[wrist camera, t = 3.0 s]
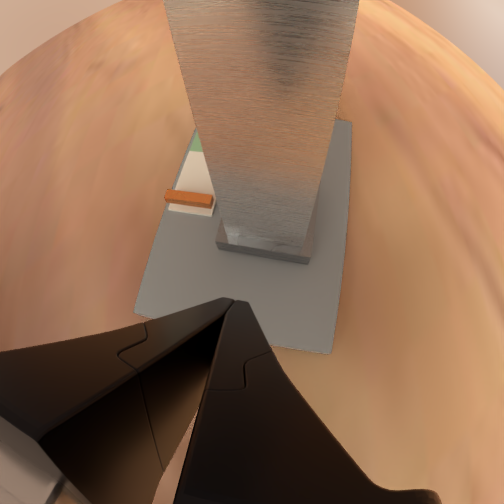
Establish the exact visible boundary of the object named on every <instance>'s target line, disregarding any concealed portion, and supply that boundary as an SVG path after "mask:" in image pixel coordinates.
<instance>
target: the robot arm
mask: <svg viewBox="0 0 504 504" xmlns="http://www.w3.org/2000/svg"><path fill="white" fill-rule="evenodd" d="M198 407H199V409H198ZM197 409H198V413H197V416H196V420H195V423H194V427H193V431H192V434H191V438H190V442H189V445H188V449H187V453H186V457H185V460H184V464H183V468H182V471H181V475H180V479H179V483H178V486H177V490H176V494H175V498H174V501H173V504H442V503H441V500H440V498H439V496H438V494H437V493H436V492H434V491H432V490H428V489H411V490H388V489H384V488H382V487H380V486H378V485H376V484H374V483H373V482H372V481H371V480H370V479H369V478H368V477H367V476H366V474H365V473H364V472H363V471H362V470H361V468H360V467H359V466H358V465H357V464H356V462H355V461H354V460H353V459H352V458H351V456H350V455H349V454H348V453H347V452H346V450H345V449H344V448H343V447H342V445H341V444H340V443H339V442H338V441H337V439H336V438H335V437H334V436H333V434H332V433H331V432H330V431H329V429H328V428H327V427H326V426H325V424H324V423H323V422H322V421H321V419H320V418H319V417H318V416H317V414H316V413H315V412H314V411H313V409H312V408H311V407H310V405H309V404H308V403H307V402H306V400H305V399H304V398H303V396H302V395H301V394H300V393H299V391H298V390H297V389H296V387H295V386H294V385H293V383H292V382H291V381H290V379H289V378H288V376H287V375H286V374H285V372H284V371H283V369H282V367H281V366H280V364H279V362H278V360H277V358H276V356H275V354H274V353H273V351H272V349H271V347H270V345H269V343H268V341H267V339H266V337H265V335H264V333H263V331H262V329H261V326H260V324H259V322H258V320H257V318H256V316H255V314H254V312H253V310H252V308H251V306H250V304H249V302H247V301H241V300H236V301H235V300H234V299H231V298H226V297H221V298H218V299H215V300H212V301H209V302H206V303H203V304H200V305H197V306H193V307H190V308H187V309H184V310H181V311H178V312H175V313H172V314H169V315H165V316H162V317H159V318H156V319H153V320H149V321H146V322H144V323H143V322H141V323H138V324H135V325H132V326H128V327H125V328H121V329H117V330H113V331H109V332H104V333H100V334H95V335H90V336H85V337H80V338H75V339H70V340H65V341H59V342H54V343H49V344H43V345H38V346H32V347H26V348H21V349H15V350H9V351H3V352H0V504H152V502H153V499H154V496H155V492H156V489H157V486H158V484H159V482H160V480H161V477H162V475H163V472H165V470H166V468H167V466H168V464H169V462H170V460H171V459H172V457H173V455H174V453H175V451H176V449H177V447H178V445H179V443H180V442H181V440H182V438H183V436H184V434H185V432H186V430H187V428H188V426H189V424H190V423H191V421H192V419H193V417H194V415H195V413H196V411H197Z"/></svg>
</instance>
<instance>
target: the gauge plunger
mask: <svg viewBox="0 0 504 504" xmlns="http://www.w3.org/2000/svg"><path fill="white" fill-rule="evenodd" d="M163 2H164V6H165V10H166V14H167V18H168V22H169V26H170V30H171V34H172V38H173V42H174V46H175V49H176V53H177V57H178V61H179V65H180V69H181V72H182V76H183V80H184V84H185V87H186V91H187V95H188V99H189V102H190V106H191V110H192V114H193V117H194V121H195V125H196V128H197V132H198V135H199V139H200V143H201V146H202V150H203V154H204V157H205V161H206V164H207V168H208V171H209V175H210V178H211V182H212V186H213V189H214V193H215V196H216V200H217V203H218V207H219V210H220V213H221V220H220V224H219V228H218V232H217V235H216V239H215V242H216V245H217V247H218V249H219V250H224V251H230V252H236V253H241V254H247V255H253V256H258V257H264V258H270V259H275V260H281V261H287V262H293V263H298V264H304V265H308V264H309V261H310V259H311V253H312V246H313V239H314V232H315V224H316V216H317V208H318V200H319V191H320V183H321V176H322V172H323V168H324V164H325V160H326V156H327V152H328V148H329V144H330V140H331V136H332V131H333V127H334V123H335V118H336V114H337V110H338V105H339V101H340V96H341V92H342V87H343V82H344V78H345V73H346V68H347V63H348V58H349V53H350V48H351V43H352V38H353V33H354V27H355V22H356V16H357V11H358V5H359V0H163ZM164 198H165V200H166V202H167V203H173V204H180V205H187V206H194V207H201V208H208V209H212V205H213V202H214V199H213V195H209V194H202V193H195V192H187V191H179V190H171V189H167V192H166V195H165V197H164Z"/></svg>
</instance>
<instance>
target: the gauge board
mask: <svg viewBox="0 0 504 504" xmlns="http://www.w3.org/2000/svg"><path fill="white" fill-rule="evenodd" d="M351 146H352V122H348V121H343V120H338V119H335V123H334V127H333V131H332V136H331V140H330V144H329V148H328V152H327V156H326V160H325V164H324V168H323V172H322V176H321V183H320V191H319V200H318V208H317V216H316V224H315V232H314V239H313V246H312V253H311V259H310V261H309V264H308V265H304V264H298V263H293V262H287V261H281V260H275V259H270V258H264V257H258V256H253V255H247V254H241V253H236V252H230V251H224V250H219V249H218V247H217V245H216V242H215V239H216V235H217V232H218V228H219V224H220V220H221V213H220V210H219V207H218V203H217V200H216V196H215V193H214V189H213V186H212V182H211V178H210V175H209V171H208V168H207V164H206V161H205V157H204V154H203V150H202V146H201V143H200V139H199V135H198V132H197V128H195V131H194V133H193V136H192V138H191V141H190V143H189V145H188V148H187V150H186V153H185V156H184V158H183V161H182V163H181V166H180V168H179V171H178V174H177V176H176V179H175V182H174V184H173V187H172V190H179V191H187V192H195V193H202V194H209V195H213V199H214V202H213V205H212V209H208V208H201V207H194V206H187V205H180V204H173V203H167V204H166V207H165V210H164V212H163V215H162V218H161V221H160V224H159V227H158V230H157V233H156V236H155V239H154V242H153V246H152V249H151V252H150V255H149V258H148V262H147V265H146V268H145V272H144V275H143V278H142V282H141V285H140V289H139V293H138V296H137V300H136V303H135V307H134V311H133V312H134V313H136V314H138V315H140V316H144V317H148V318H151V319H156V318H159V317H162V316H165V315H169V314H172V313H175V312H178V311H181V310H184V309H187V308H190V307H193V306H197V305H200V304H203V303H206V302H209V301H212V300H215V299H218V298H221V297H226V298H231V299H234V300H235V301H236V300H241V301H247V302H249V304H250V306H251V308H252V310H253V312H254V314H255V316H256V318H257V320H258V322H259V324H260V326H261V329H262V331H263V333H264V335H265V337H266V339H267V341H268V343H269V345H272V346H278V347H284V348H289V349H295V350H301V351H308V352H314V353H321V354H327V355H328V354H331V352H332V346H333V339H334V333H335V327H336V320H337V313H338V306H339V298H340V291H341V282H342V274H343V265H344V255H345V245H346V234H347V222H348V209H349V193H350V174H351Z"/></svg>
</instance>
